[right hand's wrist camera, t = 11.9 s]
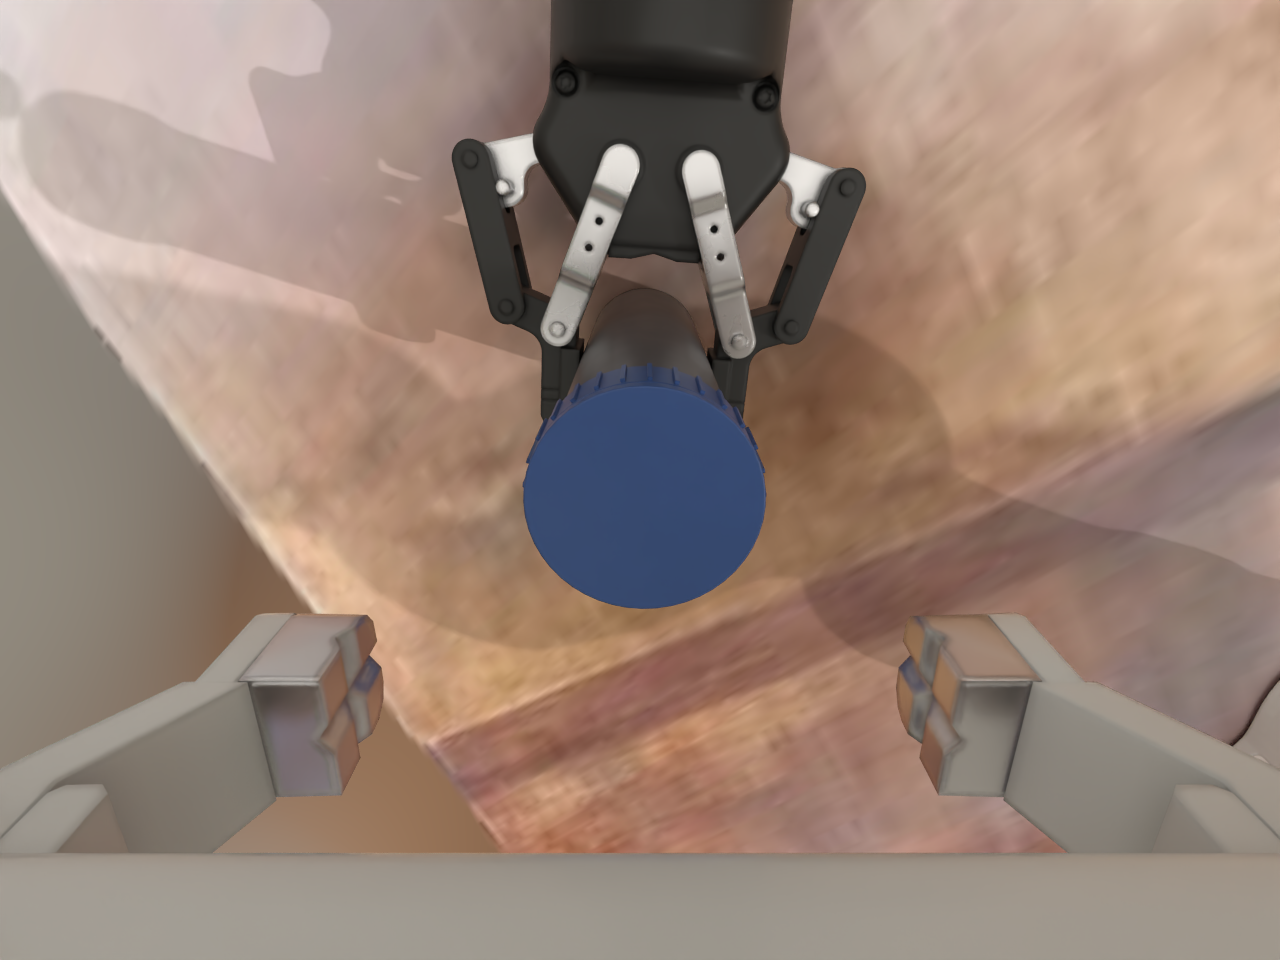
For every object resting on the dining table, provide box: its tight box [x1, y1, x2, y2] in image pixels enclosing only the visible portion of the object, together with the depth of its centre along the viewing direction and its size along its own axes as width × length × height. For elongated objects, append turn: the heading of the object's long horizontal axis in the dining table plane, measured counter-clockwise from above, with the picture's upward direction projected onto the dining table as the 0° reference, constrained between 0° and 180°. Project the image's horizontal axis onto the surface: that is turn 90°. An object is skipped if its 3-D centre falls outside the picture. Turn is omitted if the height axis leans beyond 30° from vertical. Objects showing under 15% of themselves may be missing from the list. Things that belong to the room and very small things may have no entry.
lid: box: [523, 363, 766, 609], centre depth 16 cm, size 5×5×2 cm
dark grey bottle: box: [567, 289, 719, 396], centre depth 25 cm, size 5×5×18 cm
